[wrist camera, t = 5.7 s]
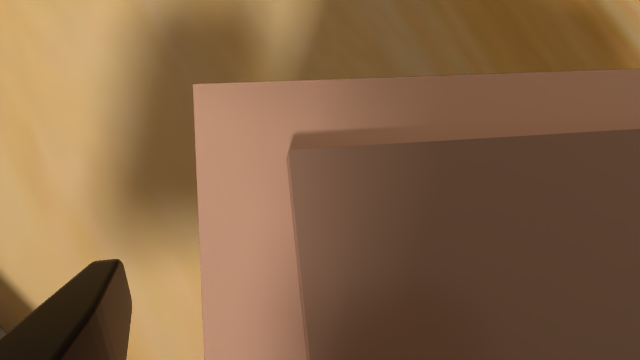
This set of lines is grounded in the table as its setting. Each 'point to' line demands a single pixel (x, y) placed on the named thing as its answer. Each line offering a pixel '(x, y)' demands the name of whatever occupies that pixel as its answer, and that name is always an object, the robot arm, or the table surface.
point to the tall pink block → (421, 217)
